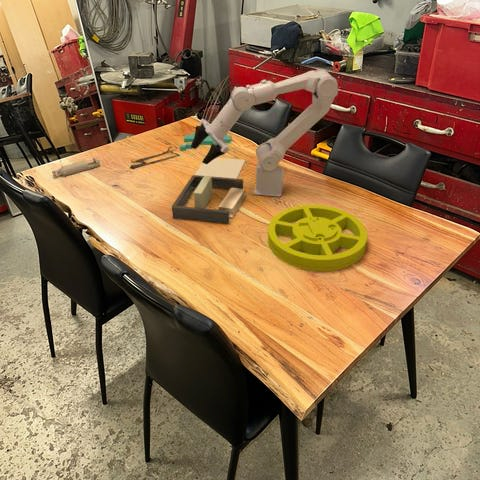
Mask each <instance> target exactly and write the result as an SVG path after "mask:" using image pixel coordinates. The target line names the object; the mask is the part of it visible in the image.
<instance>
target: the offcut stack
mask: <svg viewBox="0 0 480 480" xmlns="http://www.w3.org/2000/svg"><path fill="white" fill-rule="evenodd" d="M246 195H247V192H246V188H245V189H244V188H243V189H239V188H230V190H228V192H227V194H226V195H225V196H224V198H223V199H222V201H221V202H220V204H219V205H218V209H217V210H224V211H229V220H233V218H234V217H235V215H236V213H237V212H238V210H239V208H240V206H241V205H242V203H243V201H244V199H245V197H246Z"/></svg>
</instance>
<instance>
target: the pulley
mask: <svg viewBox="0 0 480 480" xmlns="http://www.w3.org/2000/svg"><path fill="white" fill-rule="evenodd" d="M295 221H296V222H295ZM293 222H294V223H293ZM345 228H346V230H348V231H350V232H351V234H348V233H343V229H345ZM278 236H284V237H288V238H291V240H290V241H288V242H286V243H284V242H283V241H281V240H280V238H279V237H278ZM367 240H368V231H367V228H366V227H365V225H364V224H363V222H362V221H361V220H360V219H359V218H358V217H356V216H355V215H353V214H351V213H350V212H347V211H345V210H343V209H340V208H337V207H334V206H328V205H323V204H322V205H321V204H301V205H297V206H292V207H289V208H286V209H283V210H282V211H280V212H278V213H277V214H275V215H274V216H273V217H272V218H271V219H270V221H269V223H268V228H267V244H268V247H269V249H270V250H271V252H272V254H273V255H274V256H276V257H277V259H279V260H281V261H282V262H283V263H286V264H287V265H289V266H292V267H294V268H297V269H300V270H301V269H302V270H306V271H311V272H312V271H313V272H333V271H338V270H343V269H346V268H348V267H351V266H352V265H354V264H355V263H357V262H358V261H359V260H361V258H362V257H363V255H364V254H365V251H366V246H367ZM340 248H341V249H347V250H345V251H343V252H338V253H335V254H333V253H334V252H336V251H337V250H339V249H340Z"/></svg>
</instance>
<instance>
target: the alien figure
mask: <svg viewBox="0 0 480 480" xmlns="http://www.w3.org/2000/svg"><path fill="white" fill-rule="evenodd" d="M194 136H195V132H191V134H185V136H184V138H183V142H184V143H185V144H180V145H179V151H180V152H186V150H192V149H193V148H191V144H192V143H188V142H193V139H194ZM223 139H224V141H225V143H226V144H231V143H232V140H231V139H233V138H232V135H231V134H230V135H229V134H228V133H227V134H226V135H225V137H224V138H223ZM230 142H231V143H230ZM212 144H214V145H217V144H216V143H215V141H214V140H213V139H212V138H211V137H210V135H209V136H208V137H207V138H205V139H204V140H203V141H202V143H201V144H200V145H199V146H211V145H212ZM226 153H229V150H228V151H227V152H226Z"/></svg>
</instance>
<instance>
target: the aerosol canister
mask: <svg viewBox="0 0 480 480" xmlns="http://www.w3.org/2000/svg"><path fill="white" fill-rule="evenodd" d="M92 160H93V161H91V162H88V161H86V160H80V161H77V162H73V163H70V164H66V165H63V164H62V160H61V159H59V162H60V164H61V166H60V168H59V169H55V170H53V171H51V173H52V177H53V178H54V177H60V176H63V177H64V176H65V177H66V176H70V175H74V174H77V173H80V172H83V171H87V170H91V169H93V168H98V167H99V166H100V164H101V160H100V159H98V158H97V157H93V158H92Z"/></svg>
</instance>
